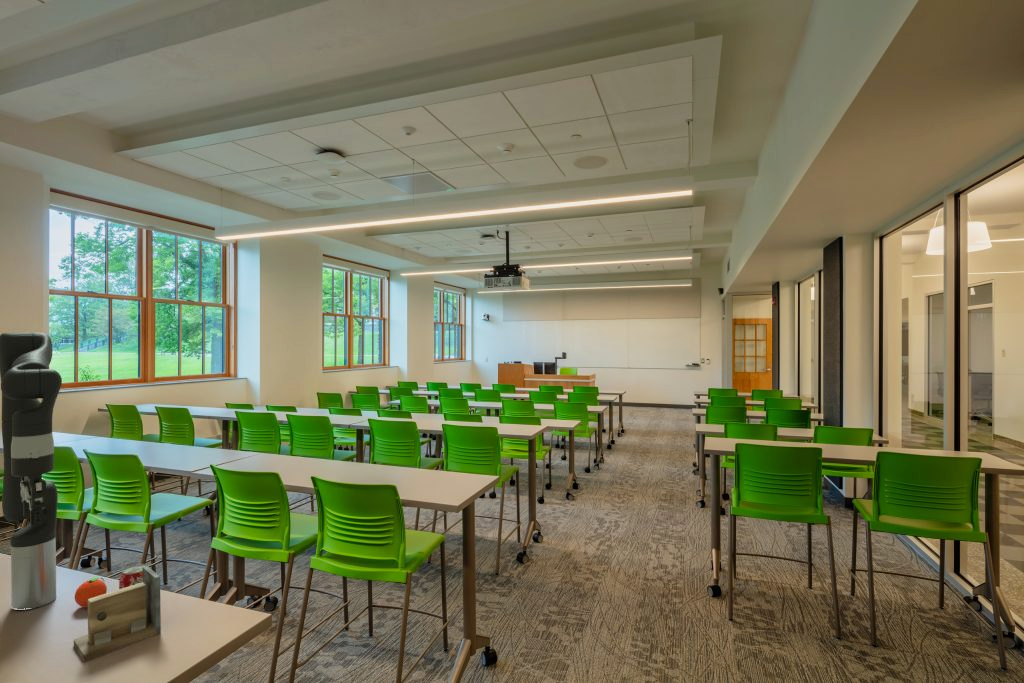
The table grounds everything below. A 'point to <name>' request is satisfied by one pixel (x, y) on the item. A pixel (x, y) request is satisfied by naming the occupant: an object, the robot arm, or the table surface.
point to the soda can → (131, 576)
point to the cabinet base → (137, 628)
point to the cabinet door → (116, 610)
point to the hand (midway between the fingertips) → (33, 521)
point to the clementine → (89, 591)
